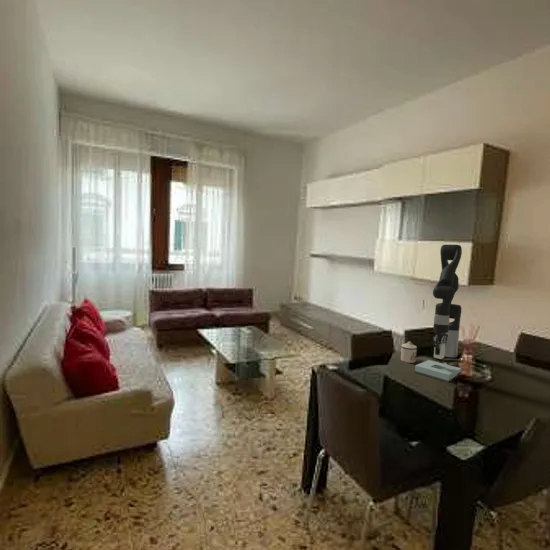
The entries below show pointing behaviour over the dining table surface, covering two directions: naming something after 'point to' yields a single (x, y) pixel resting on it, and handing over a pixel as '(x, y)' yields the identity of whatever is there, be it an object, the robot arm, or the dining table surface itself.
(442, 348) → the cream block with knob
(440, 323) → the robot arm
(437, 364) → the outlet block
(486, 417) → the dining table surface
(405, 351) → the teacup with lid
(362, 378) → the dining table surface
